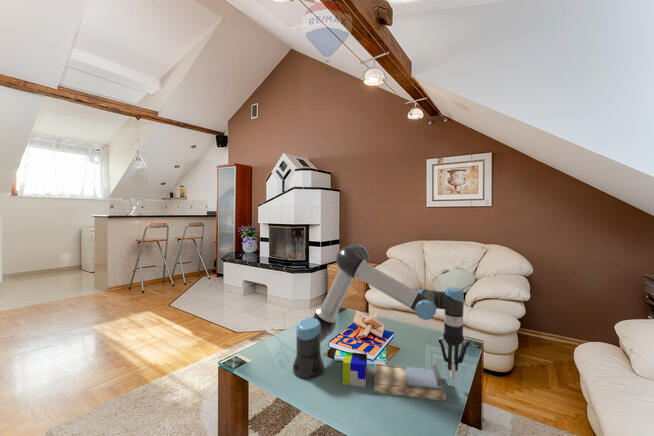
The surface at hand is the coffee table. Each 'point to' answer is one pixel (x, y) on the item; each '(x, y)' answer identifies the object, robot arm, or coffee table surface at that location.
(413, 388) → the board
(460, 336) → the robot arm
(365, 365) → the puzzle toy
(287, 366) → the coffee table surface
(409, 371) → the lid
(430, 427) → the coffee table surface
